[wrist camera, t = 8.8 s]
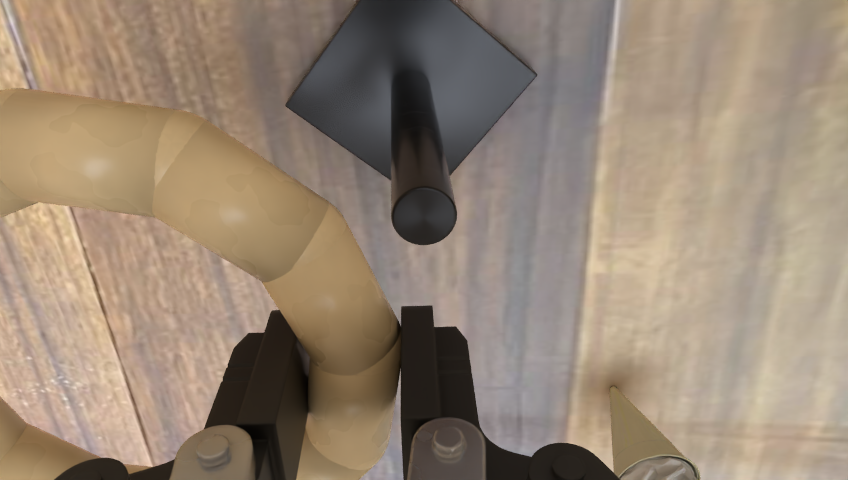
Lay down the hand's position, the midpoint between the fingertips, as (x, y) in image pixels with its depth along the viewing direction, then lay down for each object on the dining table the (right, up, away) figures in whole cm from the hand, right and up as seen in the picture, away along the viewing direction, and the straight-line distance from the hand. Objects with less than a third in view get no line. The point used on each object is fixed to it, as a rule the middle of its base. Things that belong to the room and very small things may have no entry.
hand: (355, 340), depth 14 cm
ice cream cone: (+15, -8, +29) cm, 33 cm away
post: (+1, +10, +18) cm, 21 cm away
